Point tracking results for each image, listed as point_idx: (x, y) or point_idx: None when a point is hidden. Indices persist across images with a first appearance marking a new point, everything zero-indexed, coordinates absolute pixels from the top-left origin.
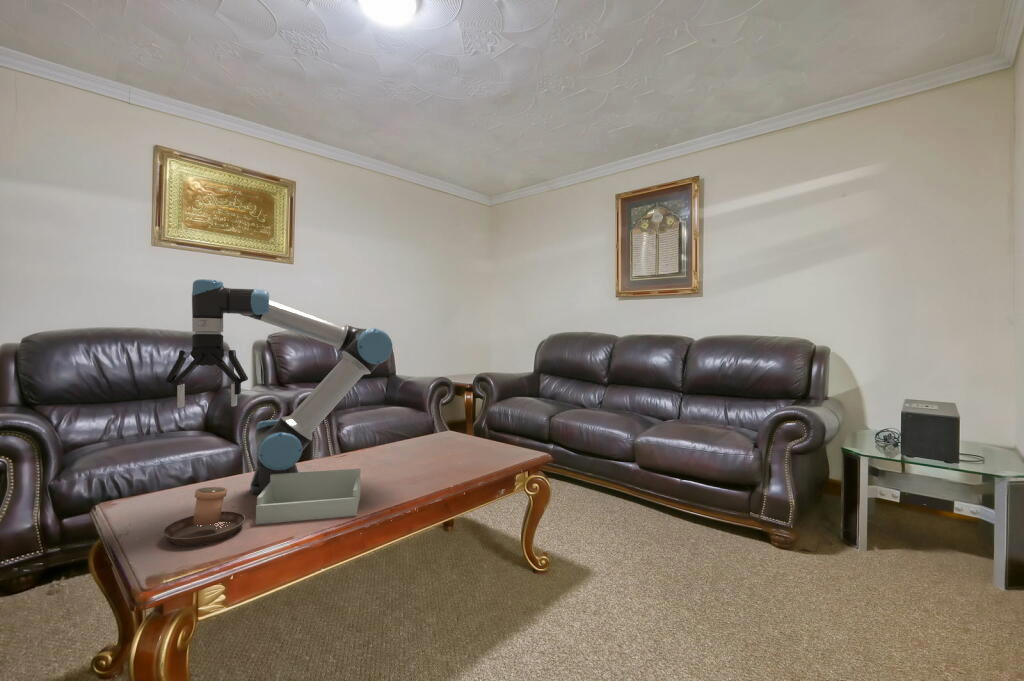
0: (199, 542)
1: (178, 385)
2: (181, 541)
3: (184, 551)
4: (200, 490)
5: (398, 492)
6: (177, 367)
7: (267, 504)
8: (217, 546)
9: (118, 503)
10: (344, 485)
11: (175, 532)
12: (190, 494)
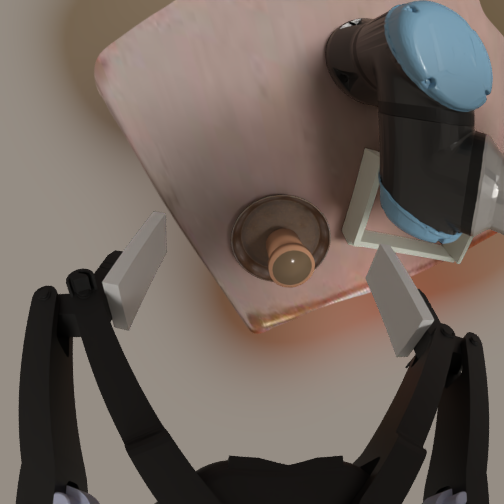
0: None
1: (120, 326)
2: (261, 274)
3: None
4: (276, 273)
5: None
6: (72, 418)
7: (363, 243)
8: None
9: (108, 61)
10: None
11: (241, 226)
12: (211, 35)
